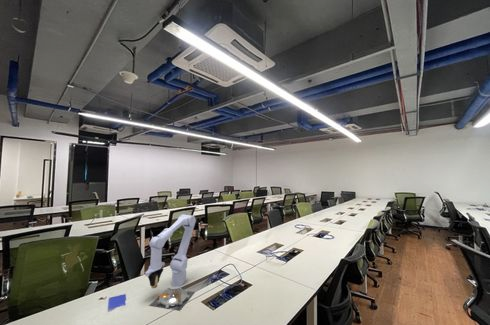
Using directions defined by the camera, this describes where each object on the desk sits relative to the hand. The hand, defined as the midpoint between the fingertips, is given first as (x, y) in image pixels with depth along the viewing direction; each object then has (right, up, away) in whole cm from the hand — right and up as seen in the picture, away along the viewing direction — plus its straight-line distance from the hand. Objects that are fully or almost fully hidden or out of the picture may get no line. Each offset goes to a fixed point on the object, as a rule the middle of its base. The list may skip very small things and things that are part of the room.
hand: (154, 283), depth 113 cm
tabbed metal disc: (+11, -8, -1) cm, 13 cm away
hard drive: (-18, -8, -5) cm, 20 cm away
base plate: (+11, -9, -1) cm, 14 cm away
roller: (0, -1, 0) cm, 1 cm away
